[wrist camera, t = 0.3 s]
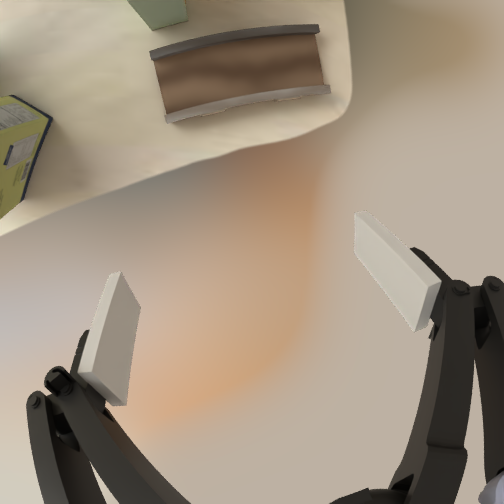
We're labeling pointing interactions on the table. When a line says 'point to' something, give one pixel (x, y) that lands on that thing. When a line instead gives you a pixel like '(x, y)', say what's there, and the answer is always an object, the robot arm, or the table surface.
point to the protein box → (18, 148)
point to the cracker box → (160, 12)
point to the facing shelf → (238, 69)
